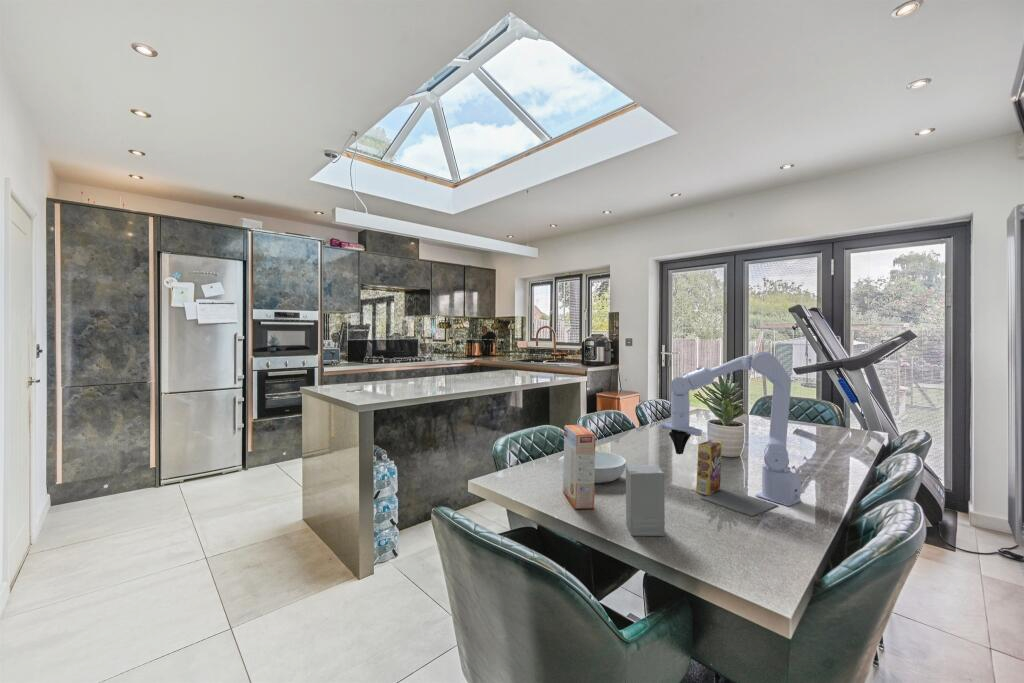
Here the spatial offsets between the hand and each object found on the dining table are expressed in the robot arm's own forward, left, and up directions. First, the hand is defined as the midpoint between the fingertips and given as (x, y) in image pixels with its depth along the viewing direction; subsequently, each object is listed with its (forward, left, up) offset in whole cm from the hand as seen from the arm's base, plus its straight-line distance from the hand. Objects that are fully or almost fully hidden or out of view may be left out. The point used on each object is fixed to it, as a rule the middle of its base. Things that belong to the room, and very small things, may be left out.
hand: (679, 453), depth 144 cm
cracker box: (+5, +40, -10) cm, 41 cm away
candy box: (-11, 0, -10) cm, 14 cm away
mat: (-21, +1, -9) cm, 23 cm away
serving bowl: (+17, +22, -10) cm, 30 cm away
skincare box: (-19, +40, -10) cm, 45 cm away
